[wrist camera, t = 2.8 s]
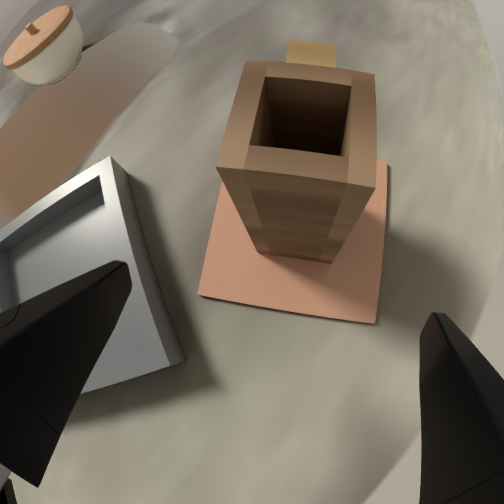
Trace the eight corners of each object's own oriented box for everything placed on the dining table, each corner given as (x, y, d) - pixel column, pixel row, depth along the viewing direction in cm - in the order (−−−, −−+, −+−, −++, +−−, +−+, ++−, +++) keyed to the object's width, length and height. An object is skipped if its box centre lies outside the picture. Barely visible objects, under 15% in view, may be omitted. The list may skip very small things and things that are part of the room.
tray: (186, 360, 21) (170, 365, 18) (39, 404, 21) (18, 409, 18) (126, 172, 25) (109, 155, 22) (7, 248, 25) (-13, 241, 22)
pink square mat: (373, 323, 20) (396, 322, 15) (199, 295, 22) (173, 286, 17) (385, 163, 22) (403, 128, 17) (233, 143, 24) (220, 105, 19)
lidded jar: (98, 30, 32) (70, -14, 23) (93, 71, 29) (56, 20, 20) (39, 65, 33) (8, 29, 24) (28, 111, 30) (-14, 73, 21)
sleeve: (331, 263, 20) (376, 187, 9) (257, 252, 21) (215, 166, 10) (341, 172, 22) (371, 47, 10) (273, 163, 23) (254, 35, 11)
